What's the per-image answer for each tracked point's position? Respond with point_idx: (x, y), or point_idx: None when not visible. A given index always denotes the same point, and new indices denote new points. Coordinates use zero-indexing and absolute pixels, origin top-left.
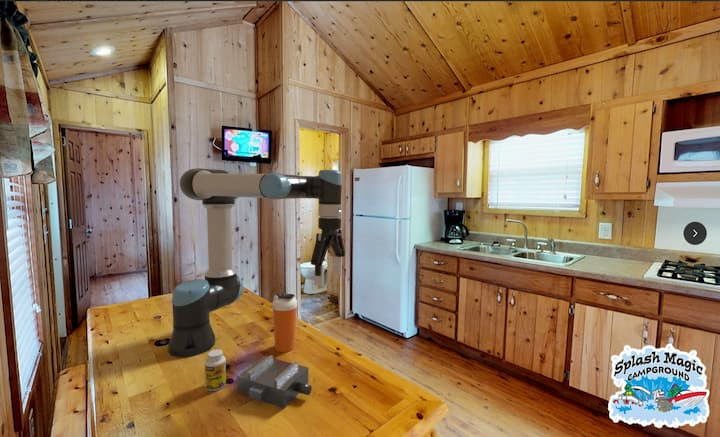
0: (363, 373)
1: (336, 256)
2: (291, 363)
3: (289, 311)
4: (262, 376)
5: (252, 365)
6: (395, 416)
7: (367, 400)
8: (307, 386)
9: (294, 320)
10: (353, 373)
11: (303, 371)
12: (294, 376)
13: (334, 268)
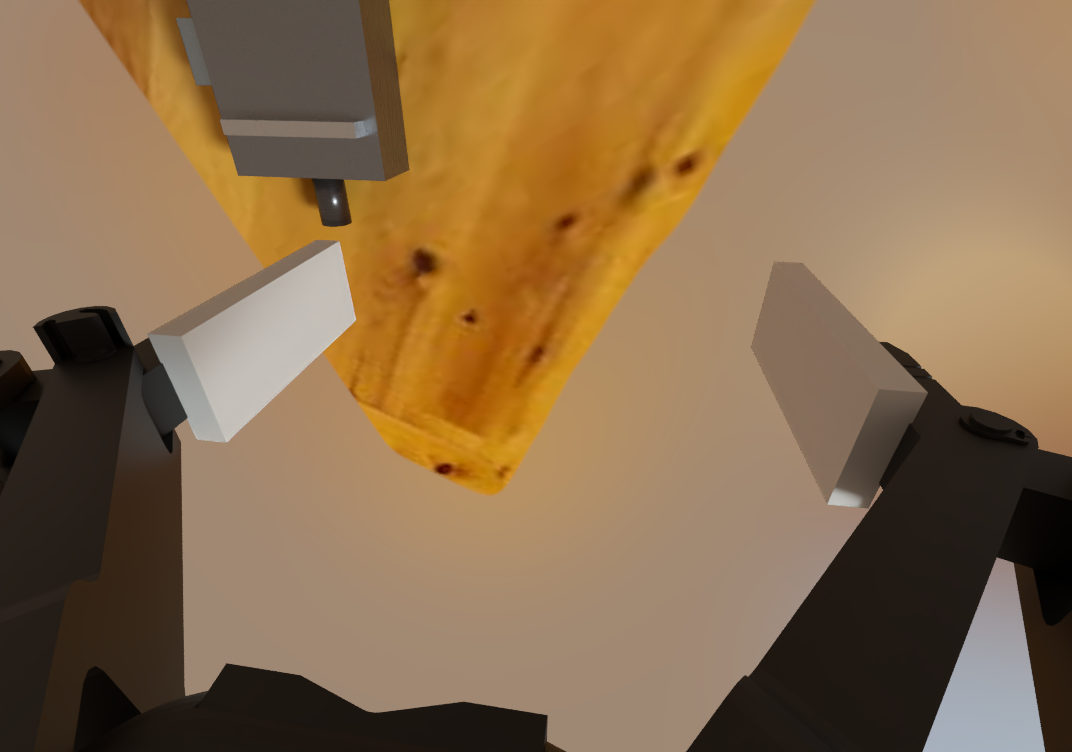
0: (543, 323)
1: (912, 419)
2: (368, 91)
3: None
4: (233, 26)
5: None
6: (416, 429)
7: (432, 365)
8: (326, 220)
9: None
10: (530, 293)
11: (354, 177)
12: (312, 161)
13: (795, 300)
